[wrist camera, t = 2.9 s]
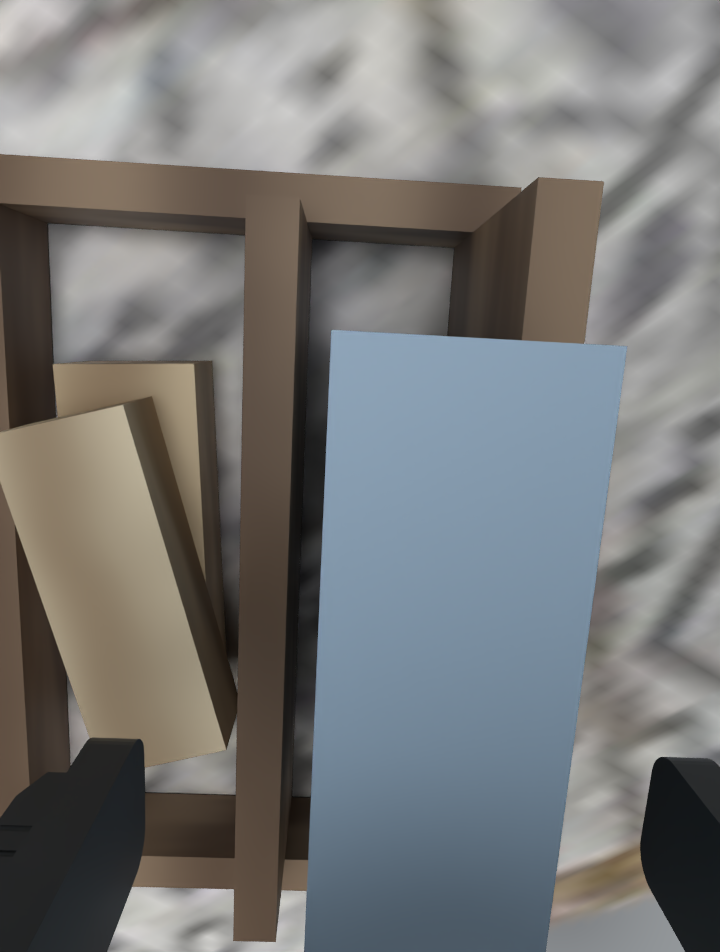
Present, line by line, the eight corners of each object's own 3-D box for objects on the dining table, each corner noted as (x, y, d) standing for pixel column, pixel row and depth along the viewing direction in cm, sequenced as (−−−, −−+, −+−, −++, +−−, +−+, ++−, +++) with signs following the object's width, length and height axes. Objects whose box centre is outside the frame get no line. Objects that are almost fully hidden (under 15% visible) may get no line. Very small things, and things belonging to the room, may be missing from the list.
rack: (495, 209, 20) (612, 109, 11) (439, 828, 25) (492, 1097, 16) (5, 179, 20) (-266, 48, 11) (39, 818, 24) (-133, 1089, 15)
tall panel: (416, 342, 21) (626, 346, 5) (389, 727, 24) (477, 1457, 8) (339, 338, 21) (331, 329, 5) (321, 725, 24) (281, 1459, 8)
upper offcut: (151, 396, 19) (122, 404, 16) (239, 701, 21) (226, 749, 18) (31, 423, 19) (-16, 436, 16) (131, 724, 21) (103, 776, 18)
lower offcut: (214, 360, 21) (193, 363, 18) (230, 689, 24) (214, 738, 21) (92, 360, 21) (52, 364, 18) (121, 691, 24) (90, 740, 21)
